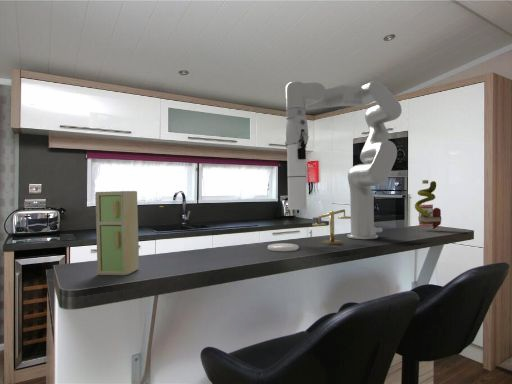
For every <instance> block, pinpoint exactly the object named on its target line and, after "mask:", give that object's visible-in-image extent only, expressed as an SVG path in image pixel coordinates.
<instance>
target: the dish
mask: <svg viewBox="0 0 512 384" xmlns="http://www.w3.org/2000/svg"><path fill="white" fill-rule="evenodd" d="M299 248H300V247H299V245H298V244H295V243H272V244H268V245H267V250H269V251H271V252H272V251H273V252H283V253H284V252H285V253H286V252H296V251H298V250H299Z"/></svg>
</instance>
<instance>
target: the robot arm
mask: <svg viewBox="0 0 512 384" xmlns="http://www.w3.org/2000/svg"><path fill="white" fill-rule="evenodd" d="M373 103H376V104H375V105H373V106H370V107H369V108H368V109H366V111H365V114H364V118H365V119H364V120H365V122H366V124H367V127H368V131H369V133H368V136H367V139H366V141H365V143H364V145H363V147H362V149H361V152H360V155H359V160H360V162H361V163H359V164H356V165H353V166H352V167H350V169H349V170H348V172H347V181H348V187H349V193H350V194H349V197H350V198H349V199H350V204H349V205H350V217H351V219H350V233H347V238H349V239H353V240H354V239H356V240H376V239H378V237H379V235H378V234H377V233H382V232H383V227H376V226H375V208H374V206H375V205H374V202H375V201H374V199H375V197H374V193H373V190H372V188H371V187H377V186H381V185H383V184H385V182H386V181H387V180H388V178H389V176H390V174H391V171H392V169H393V166H394V165H395V162H396V159H397V157H398V149H397V146H396V144H395V143H394V142H393V141H391V140H389V138H390V134H389V130H387V127H386V125H385V123H388V122H392V121H395V120H397V119H398V118H399V117H401V114H402V110H403V109H402V106H401V103H400V101H398V99H397V98H396V97H395V96H394V94H392V93H391V91H390V90H389V89H388V88H387V87H386V86H385V85H384V84H383V83H381V82H380V81H377V80H371V81H369V82H367V83H366V84H365V83H364V84H363V85H349V84H338V85H335V86H331V87H328V88H325V85H323V84H322V83H320V82H302V81H292V82H291V81H290V82H288V83H287V84H286V86H285V119H286V125H285V142H284V144H285V146H286V149H287V145H291V144H298V147H299V148H298V159H306V158H307V157H306V155H307V153H306V149H307V145H308V141H309V137H310V136H309V127H308V120H307V119H308V118H307V116H306V109H324V108H325V109H326V108H336V107H365V106H369V105H371V104H373ZM306 160H307V159H306Z"/></svg>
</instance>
